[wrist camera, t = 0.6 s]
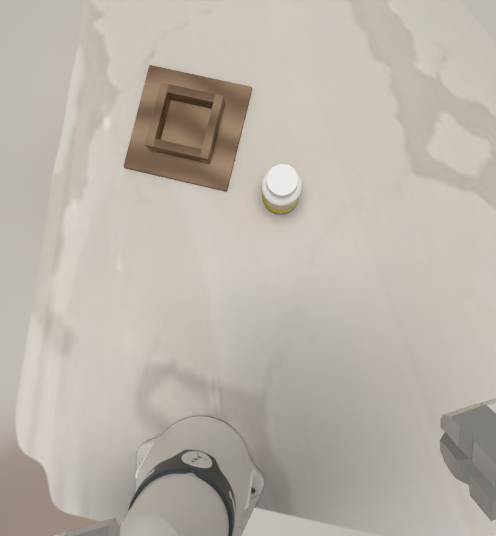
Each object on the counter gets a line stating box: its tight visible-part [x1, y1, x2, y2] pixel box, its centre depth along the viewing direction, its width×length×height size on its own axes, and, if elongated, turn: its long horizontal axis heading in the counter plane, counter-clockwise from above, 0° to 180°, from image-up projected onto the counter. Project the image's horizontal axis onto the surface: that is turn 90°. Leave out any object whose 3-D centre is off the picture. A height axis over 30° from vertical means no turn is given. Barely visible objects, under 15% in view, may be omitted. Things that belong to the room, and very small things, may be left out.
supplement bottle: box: [261, 164, 302, 214], centre depth 54 cm, size 5×5×10 cm
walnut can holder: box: [124, 65, 252, 191], centre depth 58 cm, size 16×16×3 cm
